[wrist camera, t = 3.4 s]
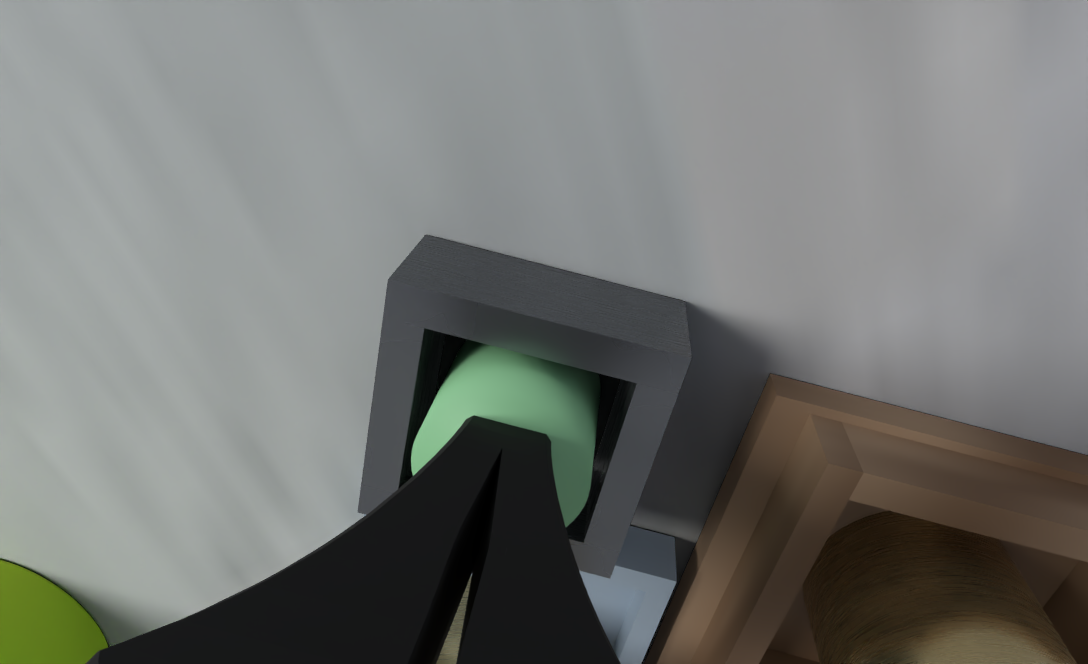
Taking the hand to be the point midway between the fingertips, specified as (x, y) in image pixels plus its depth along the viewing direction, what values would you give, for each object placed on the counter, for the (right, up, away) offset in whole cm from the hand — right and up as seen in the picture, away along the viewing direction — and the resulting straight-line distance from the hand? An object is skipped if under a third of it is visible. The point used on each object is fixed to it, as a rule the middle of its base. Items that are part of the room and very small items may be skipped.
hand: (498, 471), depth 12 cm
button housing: (0, +1, +3) cm, 3 cm away
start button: (0, +1, +2) cm, 3 cm away
